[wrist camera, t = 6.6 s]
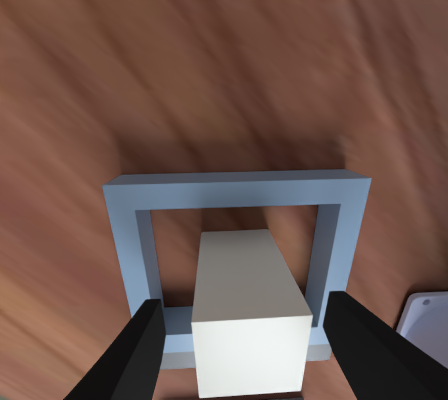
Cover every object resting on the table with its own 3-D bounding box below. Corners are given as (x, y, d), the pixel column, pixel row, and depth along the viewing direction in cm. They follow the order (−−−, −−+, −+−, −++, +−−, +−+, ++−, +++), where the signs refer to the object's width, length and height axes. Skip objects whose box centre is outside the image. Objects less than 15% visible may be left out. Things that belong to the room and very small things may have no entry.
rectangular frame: (345, 169, 11) (371, 178, 10) (301, 405, 19) (311, 436, 17) (121, 174, 11) (101, 185, 9) (166, 414, 18) (160, 447, 17)
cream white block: (268, 229, 13) (312, 315, 7) (265, 282, 14) (300, 390, 8) (201, 232, 12) (191, 322, 7) (205, 285, 14) (199, 398, 8)
